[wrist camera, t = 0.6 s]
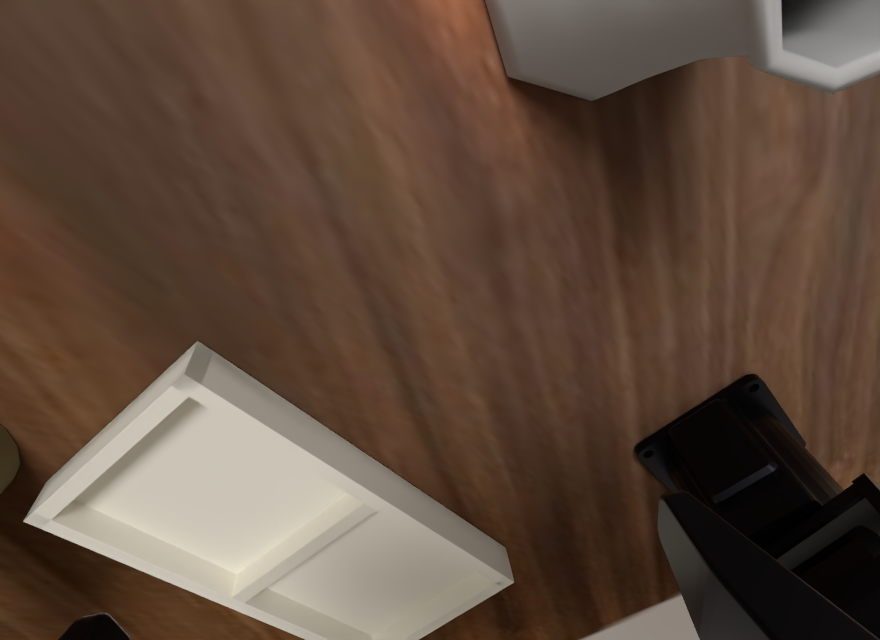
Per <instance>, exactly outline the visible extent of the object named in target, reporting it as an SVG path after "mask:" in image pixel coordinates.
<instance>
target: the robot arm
mask: <svg viewBox="0 0 880 640" xmlns="http://www.w3.org/2000/svg"><path fill="white" fill-rule="evenodd" d="M805 446H806V443H805V441H804V440H803V438H802V437H801V435H800V434H799V432H798V431H797V430H796V428H795V427H794V425H793V424H792V422H791V421H790V419H789V418H788V416H787V415H786V413H785V412H784V411H783V409H782V408H781V406H780V405H779V403H778V402H777V400H776V399H775V397H774V396H773V394H772V393H771V392H770V390H769V389H768V387H767V386H766V384H765V383H764V381H763V380H762V379H761V378H760V377H759V376H757V375H756V374H749V375H747V376H745V377H743V378H741V379H740V380H738V381H737V382H735V383H733V384H732V385H730V386H729V387H727V388H726V389H724V390H722V391H721V392H719V393H718V394H716V395H715V396H713V397H711V398H710V399H708V400H707V401H705V402H704V403H702V404H700V405H699V406H697V407H696V408H694V409H693V410H691V411H689V412H688V413H686V414H685V415H683V416H682V417H680V418H678V419H677V420H675V421H674V422H672V423H671V424H669V425H667V426H666V427H664V428H663V429H661V430H660V431H658V432H656V433H655V434H653V435H652V436H650V437H649V438H647V439H645V440H644V441H642V442H641V443H639V444H638V445H637V446H636V448H635V453H636V454H637V456H638V458H639V460H640V461H641V462H642V463H643V464H644V465H645V466H646V467H647V468H648V469H649V470H650V471H651V472H652V473H653V474H654V475H655V476H656V477H657V478H658V479H659V480H660V481H661V482H662V483H663V484H664V485H665V486H666V487H667V488H668V489H669V490H670V491H671V492H672V493H668V494H663V495H661V496H660V498H659V502H658V524H657V528H658V534H659V538H660V541H661V544H662V546H663V549H664V551H665V554H666V556H667V559H668V561H669V564H670V566H671V569H672V571H673V574H674V576H675V579H676V581H677V584H678V586H679V589H680V591H681V594H682V596H683V599H684V601H685V604H686V606H687V609H688V611H689V614H690V617H691V619H692V621H693V624H694V626H695V628H696V631H697V634H698V636H699V638H700V640H880V483H879V482H878V481H876V480H875V479H873V478H872V477H870V476H869V475H867V474H866V473H863V474H862V475H860V476H859V477H857V478H856V479H855V480H853V481H852V482H853V484H852V485H851V486H850V487H848V488H847V489H845V490H843V488H842V487H841V486H840V485H839V484H838V483H837V482H836V481H835V480H834V479H833V478H832V477H831V475H830V474H829V473H828V472H827V471H826V470H825V469H824V468H823V467H822V466H821V465H820V464H819V462H818V461H817V460H816V459H815V458H814V457H813V456H812V455H811V454H810V453H809V452H808V451H807V449H806V448H805ZM58 640H131V639H130V637H129V635H128V634H127V633H126V632H125V631H124V630H123V629H122V628H121V627H120V626H119V625H118V624H117V622H116V621H115V620H114V619H113V618H112V617H111V616H110V615H109V614H107V613H98V614H94V615H89V616H84V617H82V618H79V619H78V620H76V621H75V622H74V623H73V624H72V625H71V626H70V627H69V628H68V629H67V630H66V631H65V633H64V634H63V635H62V636H61V637H60V638H59V639H58Z"/></svg>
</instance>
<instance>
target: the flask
mask: <svg viewBox="0 0 880 640" xmlns="http://www.w3.org/2000/svg"><path fill="white" fill-rule="evenodd" d="M485 2H486V6H487V9H488V12H489V16H490V19H491V23H492V26H493V29H494V33H495V36H496V40H497V43H498V46H499V50H500V53H501V57H502V60H503V63H504V67H505V70H506V74H507V77H511V78H514V79H518V80H521V81H525V82H528V83H531V84H535V85H538V86H542V87H545V88H549V89H552V90H555V91H559V92H562V93H566V94H569V95H572V96H576V97H579V98H583V99H586V100H590V101H593V100H596V99H598V98H601V97H604V96H606V95H609V94H611V93H613V92H616V91H618V90H620V89H623V88H625V87H627V86H630V85H632V84H634V83H637V82H639V81H641V80H644V79H646V78H649V77H652V76H655V75H657V74H660V73H663V72H666V71H669V70H672V69H674V68H677V67H680V66H683V65H686V64H688V63H691V62H694V61H697V60H700V59H709V58H722V57H735V56H748V55H749V64H750V65H752V66H753V67H754V68H755V69H757V70H760V71H763V72H766V73H769V74H772V75H775V76H778V77H781V78H784V79H787V80H790V81H793V82H796V83H799V84H802V85H805V86H808V87H811V88H814V89H817V90H820V91H823V92H828V93H835V92H838V91H840V90H843V89H845V88H848V87H850V86H852V85H855V84H857V83H860V82H862V81H865V80H867V79H869V78H872V77H874V76H877V75H879V74H880V0H485Z"/></svg>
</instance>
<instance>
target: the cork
mask: <svg viewBox="0 0 880 640" xmlns="http://www.w3.org/2000/svg"><path fill="white" fill-rule="evenodd" d="M19 466H20V459H19V452H18V447H17V445H16V444H15V442H14V440H13V439H12V437H11V436H10V434H9V433H8V431H7V430H6V429H5V428H4V427H3V426H2V425H0V494H1V493H2V492H3V491H4V489H5V488H6V487H7V486H8V485H9V484H10V483H11V482H12V480H13V479H14V478H15V476H16V473H17V471H18V468H19Z"/></svg>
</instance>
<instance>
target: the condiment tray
mask: <svg viewBox="0 0 880 640" xmlns="http://www.w3.org/2000/svg"><path fill="white" fill-rule="evenodd" d="M23 522H25V523H28V524H30V525H32V526H35V527H37V528H40V529H42V530H44V531H47V532H49V533H52V534H54V535H56V536H59V537H61V538H64V539H66V540H68V541H71V542H73V543H76V544H78V545H80V546H83V547H85V548H88V549H90V550H92V551H95V552H97V553H100V554H102V555H104V556H107V557H109V558H111V559H114V560H116V561H119V562H121V563H123V564H126V565H128V566H131V567H133V568H135V569H138V570H140V571H143V572H145V573H147V574H150V575H152V576H155V577H157V578H159V579H162V580H164V581H167V582H169V583H171V584H174V585H176V586H179V587H181V588H183V589H186V590H188V591H191V592H193V593H195V594H198V595H200V596H203V597H205V598H207V599H210V600H212V601H214V602H217V603H219V604H222V605H224V606H226V607H229V608H231V609H234V610H236V611H238V612H241V613H243V614H246V615H248V616H250V617H253V618H255V619H258V620H260V621H262V622H265V623H267V624H270V625H272V626H274V627H277V628H279V629H282V630H284V631H286V632H289V633H291V634H294V635H296V636H298V637H301V638H303V639H305V640H419V639H421V638H422V637H424V636H426V635H427V634H429V633H431V632H432V631H434V630H436V629H437V628H439V627H441V626H442V625H444V624H446V623H447V622H449V621H451V620H452V619H454V618H456V617H457V616H459V615H461V614H462V613H464V612H466V611H467V610H469V609H471V608H472V607H474V606H476V605H477V604H479V603H481V602H482V601H484V600H486V599H487V598H489V597H491V596H492V595H494V594H496V593H497V592H499V591H501V590H502V589H504V588H506V587H507V586H509V585H511V584H512V583H514V579H513V575H512V571H511V567H510V563H509V559H508V555H507V551H506V548H505V547H504V546H502V545H501V544H499V543H498V542H496V541H495V540H493V539H492V538H490V537H489V536H488V535H486V534H485V533H483V532H482V531H480V530H479V529H477V528H476V527H474V526H473V525H471V524H470V523H468V522H467V521H465V520H464V519H462V518H461V517H459V516H458V515H456V514H455V513H453V512H452V511H450V510H449V509H447V508H446V507H444V506H443V505H441V504H440V503H438V502H437V501H435V500H434V499H432V498H431V497H430V496H428V495H427V494H425V493H424V492H422V491H421V490H419V489H418V488H416V487H415V486H413V485H412V484H410V483H409V482H407V481H406V480H404V479H403V478H401V477H400V476H398V475H397V474H395V473H394V472H392V471H391V470H389V469H388V468H386V467H385V466H383V465H382V464H380V463H379V462H377V461H376V460H375V459H373V458H372V457H370V456H369V455H367V454H366V453H364V452H363V451H361V450H360V449H358V448H357V447H355V446H354V445H352V444H351V443H349V442H348V441H346V440H345V439H343V438H342V437H340V436H339V435H337V434H336V433H334V432H333V431H331V430H330V429H328V428H327V427H325V426H324V425H322V424H321V423H319V422H318V421H317V420H315V419H314V418H312V417H311V416H309V415H308V414H306V413H305V412H303V411H302V410H300V409H299V408H297V407H296V406H294V405H293V404H291V403H290V402H288V401H287V400H285V399H284V398H282V397H281V396H279V395H278V394H276V393H275V392H273V391H272V390H270V389H269V388H267V387H266V386H264V385H263V384H261V383H260V382H259V381H257V380H256V379H254V378H253V377H251V376H250V375H248V374H247V373H245V372H244V371H242V370H241V369H239V368H238V367H236V366H235V365H233V364H232V363H230V362H229V361H227V360H226V359H224V358H223V357H221V356H220V355H218V354H217V353H215V352H214V351H212V350H211V349H209V348H208V347H206V346H205V345H204V344H202V343H201V342H199V341H197V342H196V343H195V344H194V345H193V346H192V347H191V348H190V349H188V350H187V351H186V352H185V353H184V354H183V355H182V356H181V357H180V358H179V359H178V360H177V361H176V362H175V363H173V364H172V365H171V366H170V367H169V368H168V369H167V370H166V371H165V372H164V373H163V374H162V375H161V376H159V377H158V378H157V379H156V380H155V381H154V382H153V383H152V384H151V385H150V386H149V387H148V388H147V389H146V390H144V391H143V392H142V393H141V394H140V395H139V396H138V397H137V398H136V399H135V400H134V401H133V402H132V403H130V404H129V405H128V406H127V407H126V408H125V409H124V410H123V411H122V412H121V413H120V414H119V415H118V416H117V417H115V418H114V419H113V420H112V421H111V422H110V423H109V424H108V425H107V426H106V427H105V428H104V429H103V430H101V431H100V432H99V433H98V434H97V435H96V436H95V437H94V438H93V439H92V440H91V441H90V442H89V443H88V444H86V445H85V446H84V447H83V448H82V449H81V450H80V451H79V452H78V453H77V454H76V455H75V456H74V457H72V458H71V459H70V460H69V461H68V462H67V463H66V464H65V465H64V466H63V467H62V468H61V469H60V470H59V471H57V472H56V473H55V474H54V475H53V476H52V477H51V478H50V479H49V480H48V481H47V482H46V483H45V485H44V487H43V489H42V490H41V492H40V494H39V495H38V497H37V499H36V500H35V502H34V504H33V505H32V507H31V509H30V511H29V512H28V514H27V516H26V517H25V519H24V521H23Z"/></svg>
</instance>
